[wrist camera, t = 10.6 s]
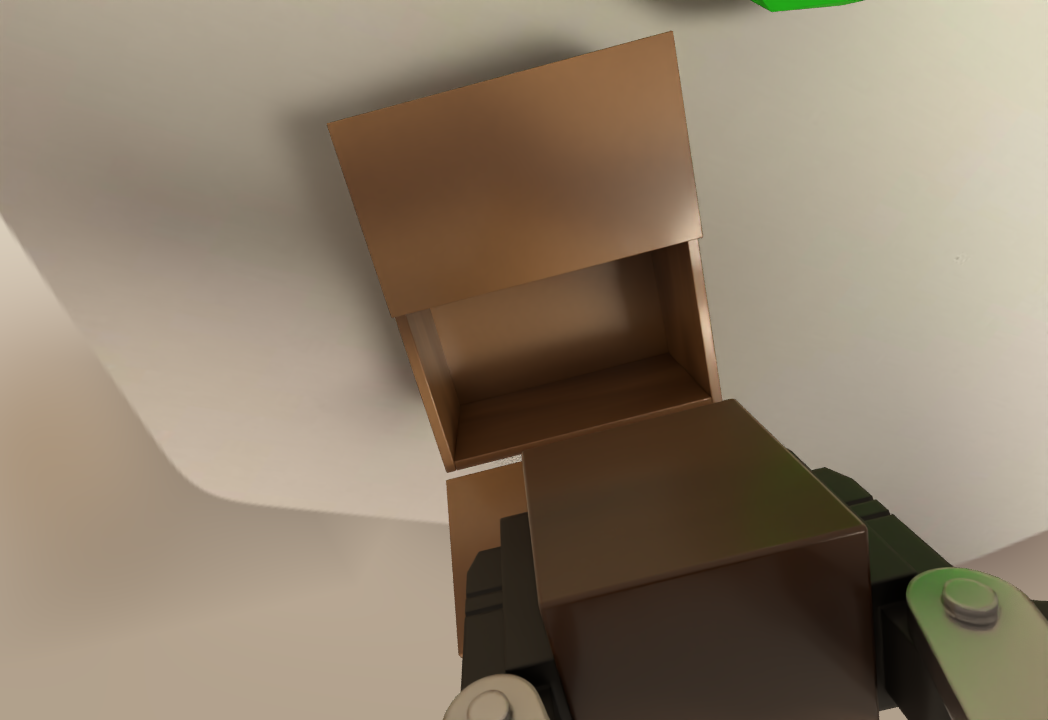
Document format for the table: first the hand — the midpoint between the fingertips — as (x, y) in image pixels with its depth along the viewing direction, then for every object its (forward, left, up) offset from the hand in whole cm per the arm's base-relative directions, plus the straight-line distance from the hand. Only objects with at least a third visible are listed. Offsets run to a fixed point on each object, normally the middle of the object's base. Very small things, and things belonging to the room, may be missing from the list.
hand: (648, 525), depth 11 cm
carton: (+3, 0, -17) cm, 17 cm away
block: (0, 0, 0) cm, 0 cm away
